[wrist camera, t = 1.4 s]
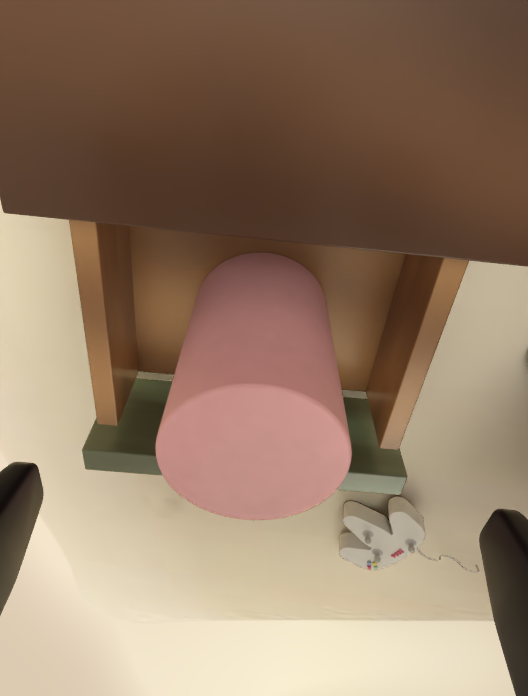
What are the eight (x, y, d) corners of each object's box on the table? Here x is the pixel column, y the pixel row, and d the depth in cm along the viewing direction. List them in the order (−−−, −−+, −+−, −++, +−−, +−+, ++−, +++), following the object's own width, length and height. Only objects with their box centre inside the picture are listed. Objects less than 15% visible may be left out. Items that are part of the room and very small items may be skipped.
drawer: (374, 434, 25) (393, 512, 21) (118, 412, 25) (88, 488, 21) (472, 135, 17) (533, 172, 13) (85, 91, 16) (23, 116, 12)
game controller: (355, 481, 29) (362, 519, 26) (523, 517, 30) (542, 555, 28) (321, 535, 32) (325, 573, 30) (476, 565, 33) (490, 602, 31)
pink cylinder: (347, 335, 20) (381, 489, 14) (237, 381, 22) (220, 539, 15) (290, 227, 18) (298, 353, 11) (169, 287, 19) (113, 430, 13)
